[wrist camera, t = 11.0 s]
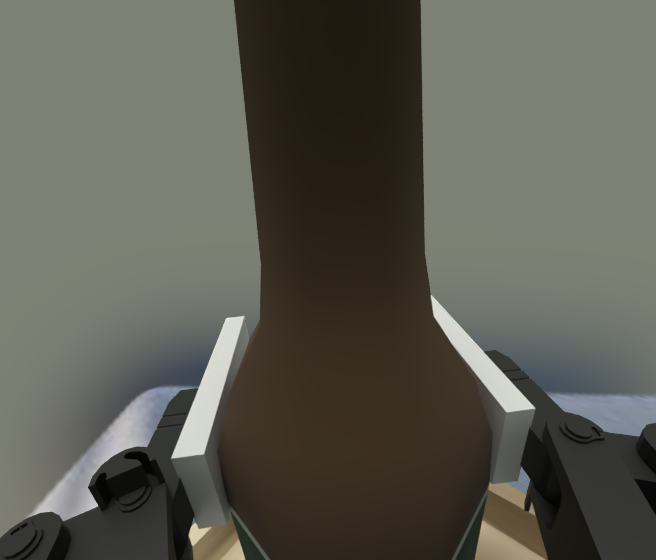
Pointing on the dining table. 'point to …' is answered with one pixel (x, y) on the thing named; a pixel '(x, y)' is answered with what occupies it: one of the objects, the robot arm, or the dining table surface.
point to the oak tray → (492, 550)
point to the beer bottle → (346, 304)
